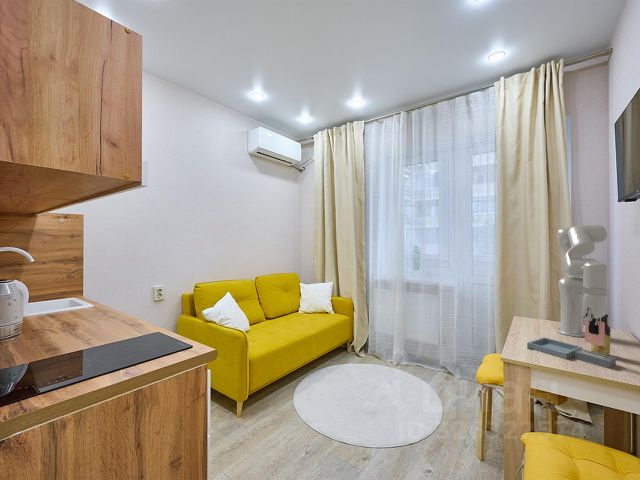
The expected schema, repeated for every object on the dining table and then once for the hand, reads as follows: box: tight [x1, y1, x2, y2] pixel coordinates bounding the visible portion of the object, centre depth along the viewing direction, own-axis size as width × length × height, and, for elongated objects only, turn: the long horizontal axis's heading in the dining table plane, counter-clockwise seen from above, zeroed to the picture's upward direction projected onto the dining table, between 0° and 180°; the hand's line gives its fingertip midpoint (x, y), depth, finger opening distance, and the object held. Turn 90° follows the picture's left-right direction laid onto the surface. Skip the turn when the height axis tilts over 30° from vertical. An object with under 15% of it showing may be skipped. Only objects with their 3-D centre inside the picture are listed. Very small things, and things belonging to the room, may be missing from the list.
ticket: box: [584, 318, 605, 346], centre depth 126 cm, size 2×6×10 cm, turn 28°
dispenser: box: [574, 348, 617, 369], centre depth 126 cm, size 7×11×4 cm, turn 28°
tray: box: [526, 336, 583, 360], centre depth 139 cm, size 16×16×3 cm
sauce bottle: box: [590, 312, 612, 356], centre depth 134 cm, size 6×6×20 cm
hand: (594, 333), depth 126 cm, fingers closed on ticket, 1 cm apart
